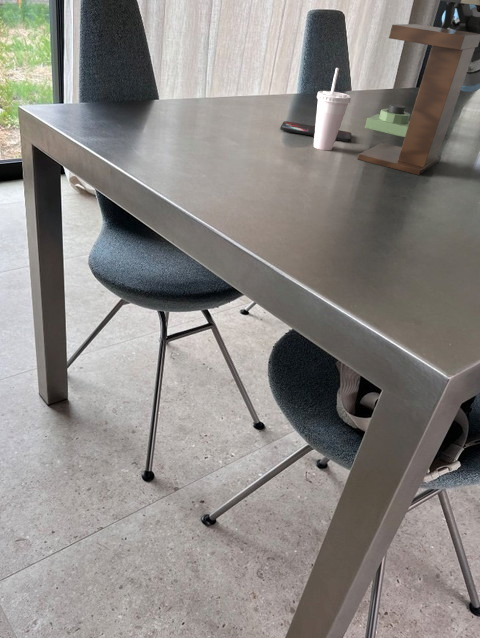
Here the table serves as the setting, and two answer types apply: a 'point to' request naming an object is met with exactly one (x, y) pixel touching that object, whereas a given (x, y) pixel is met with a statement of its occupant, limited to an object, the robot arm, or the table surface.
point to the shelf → (429, 97)
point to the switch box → (389, 122)
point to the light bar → (464, 1)
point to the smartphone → (311, 130)
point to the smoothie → (329, 116)
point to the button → (396, 109)
